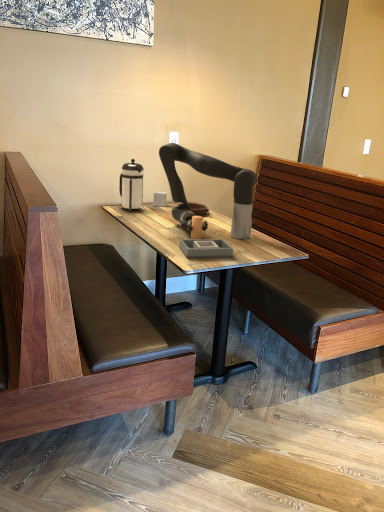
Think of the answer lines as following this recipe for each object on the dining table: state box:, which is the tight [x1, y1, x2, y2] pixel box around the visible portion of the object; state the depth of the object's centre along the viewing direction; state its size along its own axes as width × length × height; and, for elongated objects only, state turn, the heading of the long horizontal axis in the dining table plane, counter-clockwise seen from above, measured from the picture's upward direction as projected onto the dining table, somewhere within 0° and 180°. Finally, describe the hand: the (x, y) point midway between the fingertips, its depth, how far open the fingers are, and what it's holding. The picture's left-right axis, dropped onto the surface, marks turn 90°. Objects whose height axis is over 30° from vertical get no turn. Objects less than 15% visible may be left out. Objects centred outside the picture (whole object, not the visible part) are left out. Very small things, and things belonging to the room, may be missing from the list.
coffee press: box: [118, 158, 145, 213], centre depth 248 cm, size 17×16×30 cm
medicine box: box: [152, 191, 167, 208], centre depth 266 cm, size 8×4×9 cm, turn 92°
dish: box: [176, 202, 210, 216], centre depth 252 cm, size 18×22×5 cm
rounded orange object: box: [190, 215, 204, 239], centre depth 195 cm, size 5×5×12 cm
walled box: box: [179, 238, 234, 259], centre depth 182 cm, size 20×14×4 cm
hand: (198, 228), depth 192 cm, fingers open, 5 cm apart
